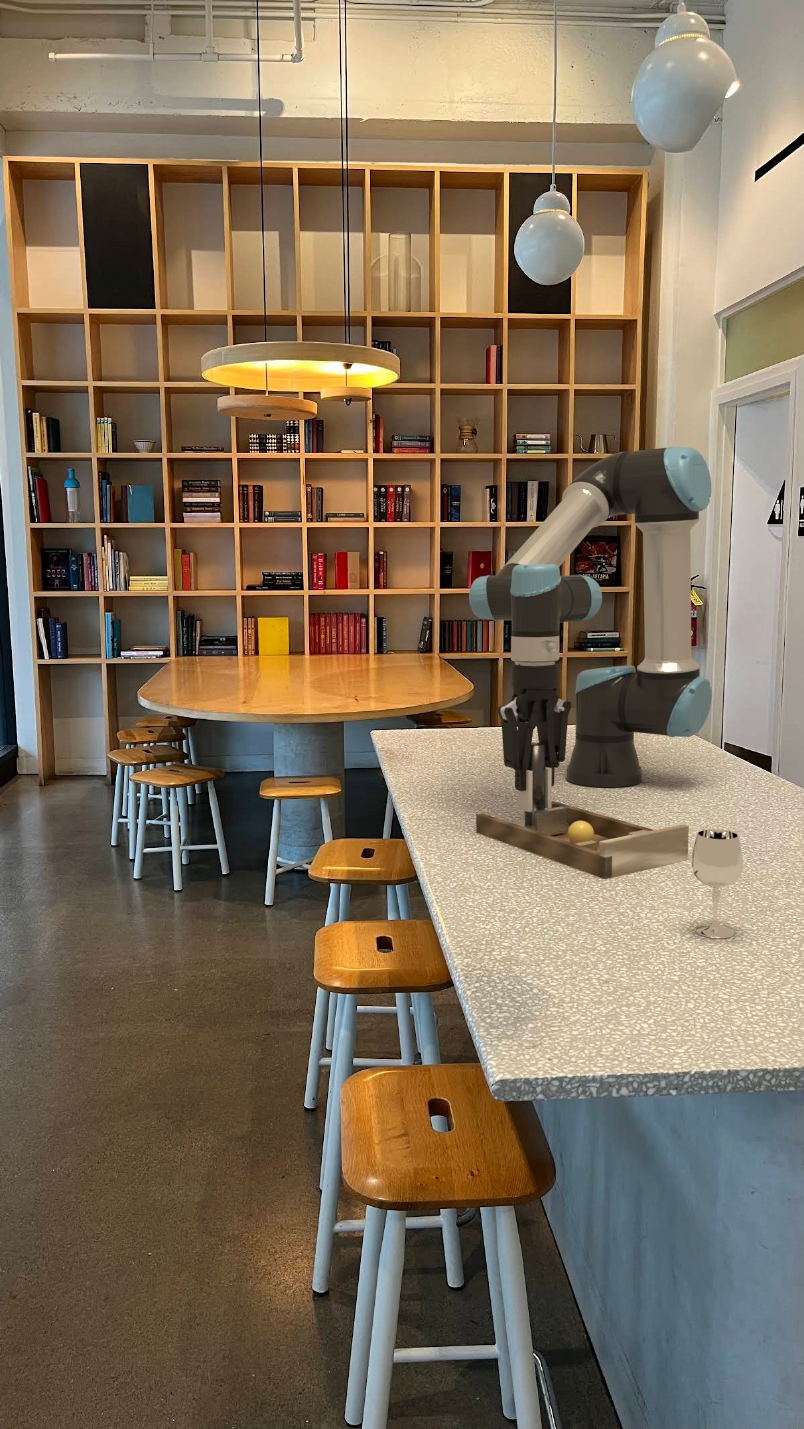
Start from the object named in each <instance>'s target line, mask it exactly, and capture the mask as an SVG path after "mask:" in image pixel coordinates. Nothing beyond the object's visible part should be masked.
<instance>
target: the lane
mask: <svg viewBox="0 0 804 1429" xmlns="http://www.w3.org/2000/svg"><path fill="white" fill-rule="evenodd" d="M561 806H562V807H565V808H566V823H568V829H569V827H570V825H571V824H573V823H574V822H576V821H585V822H587V823H589V824H590V825H591V826H592V828H593V830H594V838H593V841H592V840H591V841H587V842H582V843H577V844H574V843H571V842H570V841H569V839H568V830H566V833H561V834H556V835H547V834H544V833H541V832H538V831H535V830H532V829H529V828H526V827H523V826H519V825H516V824H513V823H510V822H511V821H507V820H504V819H500V818H498V817H495V816H492V815H489V814H485V813H482V812H481V813H480V812H479V813H476V814H475V831H476V832H475V833H476V834H478V835H482V836H484V837H487V838H491V839H492V840H496V841H497V842H502V843H504V844H507V845H510V846H512V847H514V848H518V849H521V850H523V851H526V852H529V853H531V854H533V855H538V856H540V857H543V858H545V859H548V860H550V861H554V862H557V863H559V864H562V865H564V866H568V867H570V868H572V869H576V870H577V871H581V872H584V873H587V874H589V875H593V876H595V877H597V878H598V877H599V878H601V879H604V880H608V879H612V878H616V877H620V876H625V875H629V874H634V873H637V872H643V871H646V870H651V869H655V868H659V867H663V866H668V865H673V864H676V863H677V864H678V863H681V862H685V861H688V860H689V829H690V828H689V825H686V824H678V825H673V826H669V827H664V828H657V829H652V828H649V827H645V826H642V825H638V824H635V823H632V822H629V821H625V820H622V819H617V818H614V817H610V816H607V815H603V814H600V813H598V812H593V811H590V810H586V809H582V808H578V807H575V806H572V805H568V804H565V803H562V802H558V801H554V800H552V805H551V808H556V807H561ZM549 809H550V808H549Z"/></svg>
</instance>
